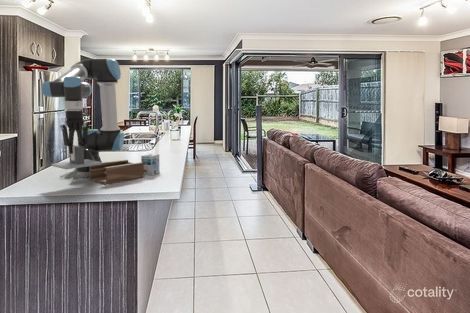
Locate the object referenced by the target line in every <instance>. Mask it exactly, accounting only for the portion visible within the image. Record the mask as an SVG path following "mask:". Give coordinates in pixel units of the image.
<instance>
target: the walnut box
mask: <svg viewBox="0 0 470 313" xmlns="http://www.w3.org/2000/svg"><path fill="white" fill-rule="evenodd" d="M89 173H90V177H89V181H90V180H91V181H92V182H95V183H98V184H99V183H100V184H104V185H107V184H108V185H113V184H119V183H125V182H130V181H135V180H136V181H137V180H141V179H145V175H144V163H142V162H130V161H129V160H128V159H121V160H120V159H119V160H115V161H114V160H112V161H106V162H105V161H104V162H102V164H100V165H93V166H89Z"/></svg>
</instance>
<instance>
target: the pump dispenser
mask: <svg viewBox="0 0 470 313" xmlns="http://www.w3.org/2000/svg"><path fill="white" fill-rule="evenodd" d="M91 151H92V149H91V150H88V149H84V160H85V159H88V160H93V161H94V158H93V155H92V153H91ZM75 172H76V174H77V175H78V176H79V177H80V178H82V179H83V178H84V179H85V178H90V173H89V166H87V167H80V168H75Z"/></svg>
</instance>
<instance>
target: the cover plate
mask: <svg viewBox="0 0 470 313" xmlns="http://www.w3.org/2000/svg"><path fill="white" fill-rule="evenodd" d="M73 147H75V161H73V160H71V154H70V153H69V152H68V153H69V155H68V156H69V161H64V162H56V163H51V166H52V167H54V168H57V169H62V170H72V169H76V168H80V167H87V166H93V165H100V164H102V163H103V162H98V161H93V160H88V159H85V160H84V147H82V146H78V145H75V144H73Z"/></svg>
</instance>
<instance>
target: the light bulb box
mask: <svg viewBox="0 0 470 313" xmlns="http://www.w3.org/2000/svg"><path fill="white" fill-rule="evenodd" d="M140 158H141V162H142V163H144V176H154V175H157V174H158V173H160V153H147V154H143V155H141V156H140Z"/></svg>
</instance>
